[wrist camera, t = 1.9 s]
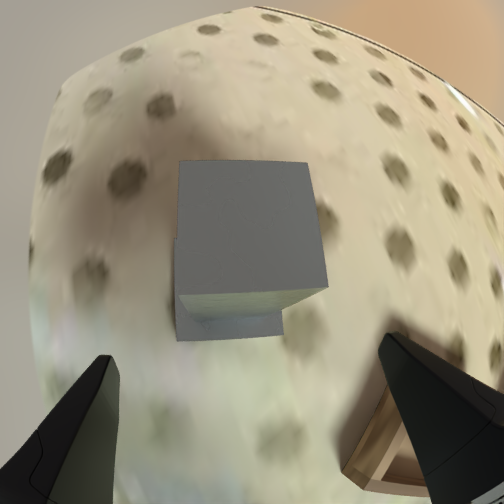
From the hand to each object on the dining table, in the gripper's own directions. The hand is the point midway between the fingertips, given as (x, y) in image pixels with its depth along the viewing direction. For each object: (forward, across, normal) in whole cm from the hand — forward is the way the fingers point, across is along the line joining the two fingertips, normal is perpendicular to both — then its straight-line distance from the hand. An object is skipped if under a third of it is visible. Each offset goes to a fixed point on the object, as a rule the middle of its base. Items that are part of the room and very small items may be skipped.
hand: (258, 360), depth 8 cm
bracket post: (+11, 0, +5) cm, 12 cm away
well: (+1, -15, +15) cm, 21 cm away
